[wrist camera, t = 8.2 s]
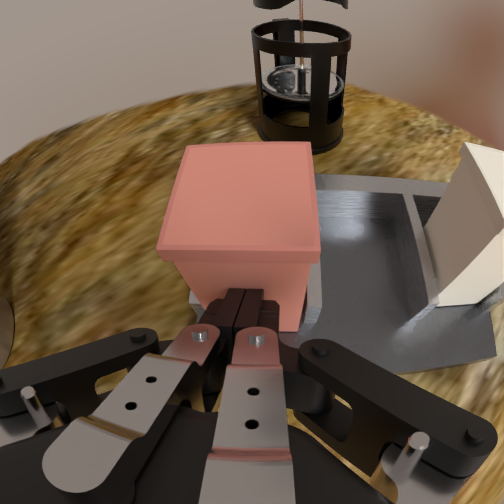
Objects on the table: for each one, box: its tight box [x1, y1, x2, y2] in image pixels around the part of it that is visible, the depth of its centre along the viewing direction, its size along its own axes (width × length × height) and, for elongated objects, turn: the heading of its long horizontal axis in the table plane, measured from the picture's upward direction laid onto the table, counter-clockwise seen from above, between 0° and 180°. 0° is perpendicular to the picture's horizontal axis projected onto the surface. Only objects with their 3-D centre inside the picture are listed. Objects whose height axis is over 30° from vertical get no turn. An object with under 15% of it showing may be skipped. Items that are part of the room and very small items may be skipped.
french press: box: [251, 0, 351, 155], centre depth 21 cm, size 12×9×23 cm
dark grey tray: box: [189, 174, 504, 375], centre depth 19 cm, size 14×22×4 cm, turn 87°
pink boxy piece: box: [156, 142, 321, 332], centre depth 15 cm, size 5×5×10 cm
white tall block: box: [423, 142, 504, 306], centre depth 14 cm, size 5×5×10 cm
